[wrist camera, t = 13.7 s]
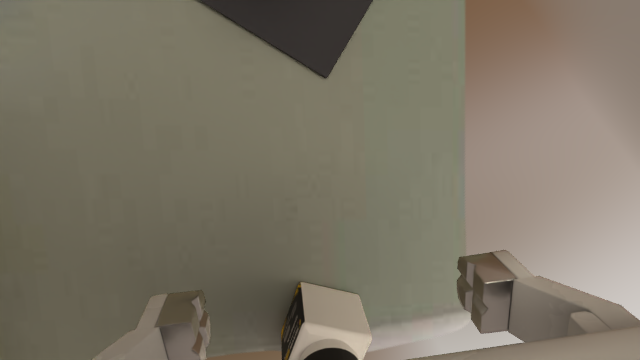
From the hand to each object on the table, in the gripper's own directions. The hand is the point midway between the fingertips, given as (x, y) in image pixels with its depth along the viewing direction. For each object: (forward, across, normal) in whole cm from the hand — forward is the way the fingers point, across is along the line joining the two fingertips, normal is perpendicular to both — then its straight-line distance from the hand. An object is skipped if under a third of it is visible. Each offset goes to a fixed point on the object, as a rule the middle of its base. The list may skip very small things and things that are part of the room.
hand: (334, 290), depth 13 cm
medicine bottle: (+28, 0, +23) cm, 36 cm away
